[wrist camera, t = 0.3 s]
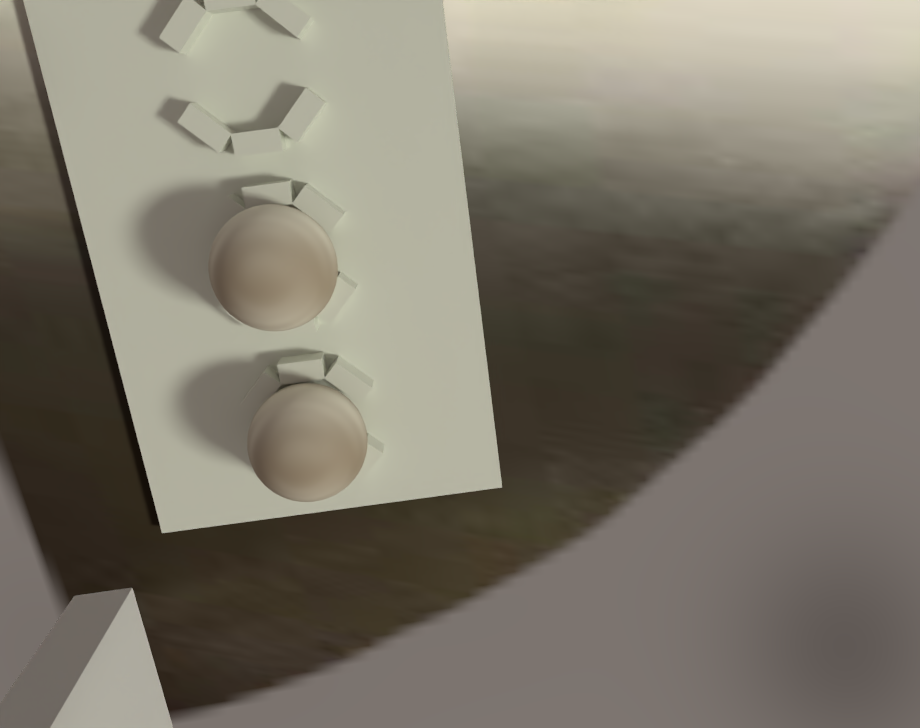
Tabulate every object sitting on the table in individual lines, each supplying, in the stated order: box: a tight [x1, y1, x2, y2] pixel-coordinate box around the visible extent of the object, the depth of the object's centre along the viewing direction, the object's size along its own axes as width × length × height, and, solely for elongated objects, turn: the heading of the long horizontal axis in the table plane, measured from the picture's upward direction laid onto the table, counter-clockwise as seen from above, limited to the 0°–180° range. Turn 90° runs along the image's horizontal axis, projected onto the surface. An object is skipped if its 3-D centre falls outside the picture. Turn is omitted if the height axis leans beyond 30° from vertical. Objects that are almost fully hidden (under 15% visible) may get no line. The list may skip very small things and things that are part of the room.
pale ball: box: [247, 383, 368, 502], centre depth 36 cm, size 5×5×5 cm
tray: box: [23, 0, 502, 533], centre depth 35 cm, size 24×16×2 cm, turn 7°
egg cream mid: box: [208, 204, 338, 331], centre depth 33 cm, size 5×5×5 cm
